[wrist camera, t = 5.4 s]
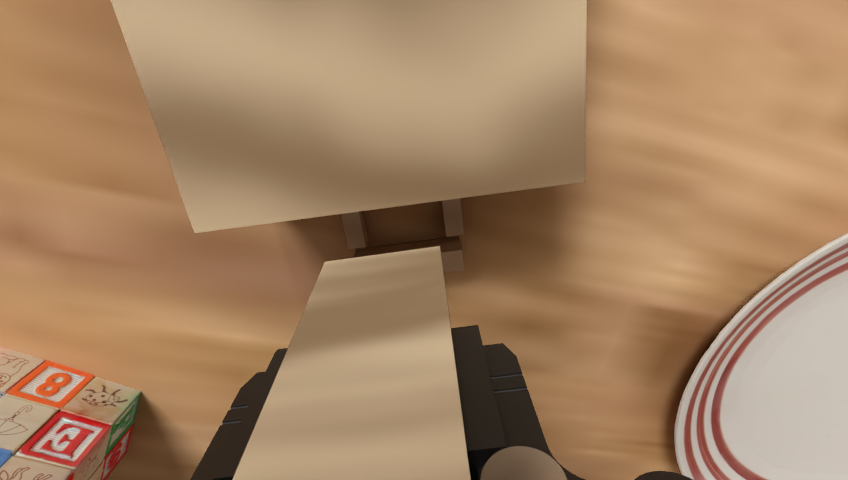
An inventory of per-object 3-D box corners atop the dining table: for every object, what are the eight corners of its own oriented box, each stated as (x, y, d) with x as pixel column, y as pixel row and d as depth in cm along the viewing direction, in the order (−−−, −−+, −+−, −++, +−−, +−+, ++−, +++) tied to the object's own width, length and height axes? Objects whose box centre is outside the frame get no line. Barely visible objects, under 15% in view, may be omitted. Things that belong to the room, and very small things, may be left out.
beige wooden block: (324, 261, 13) (181, 597, 5) (439, 246, 12) (481, 565, 5) (349, 353, 14) (269, 725, 6) (452, 339, 14) (501, 702, 6)
